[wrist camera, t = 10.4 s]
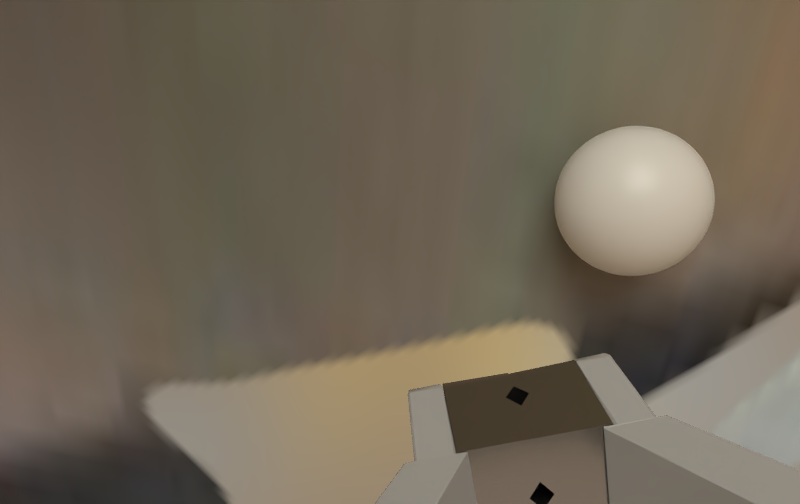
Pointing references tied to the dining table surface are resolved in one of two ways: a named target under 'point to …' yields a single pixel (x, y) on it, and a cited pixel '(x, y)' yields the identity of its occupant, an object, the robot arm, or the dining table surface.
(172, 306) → the dining table surface
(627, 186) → the cue ball
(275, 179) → the dining table surface
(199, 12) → the dining table surface
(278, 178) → the dining table surface
